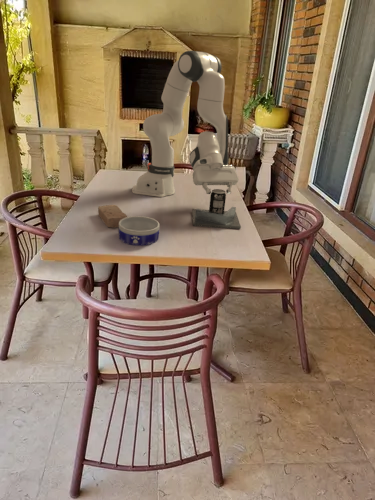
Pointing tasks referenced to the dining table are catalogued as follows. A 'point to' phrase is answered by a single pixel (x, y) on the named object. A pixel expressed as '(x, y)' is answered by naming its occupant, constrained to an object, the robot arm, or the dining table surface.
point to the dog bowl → (139, 230)
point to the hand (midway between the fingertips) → (219, 193)
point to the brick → (111, 215)
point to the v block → (216, 219)
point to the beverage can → (217, 201)
